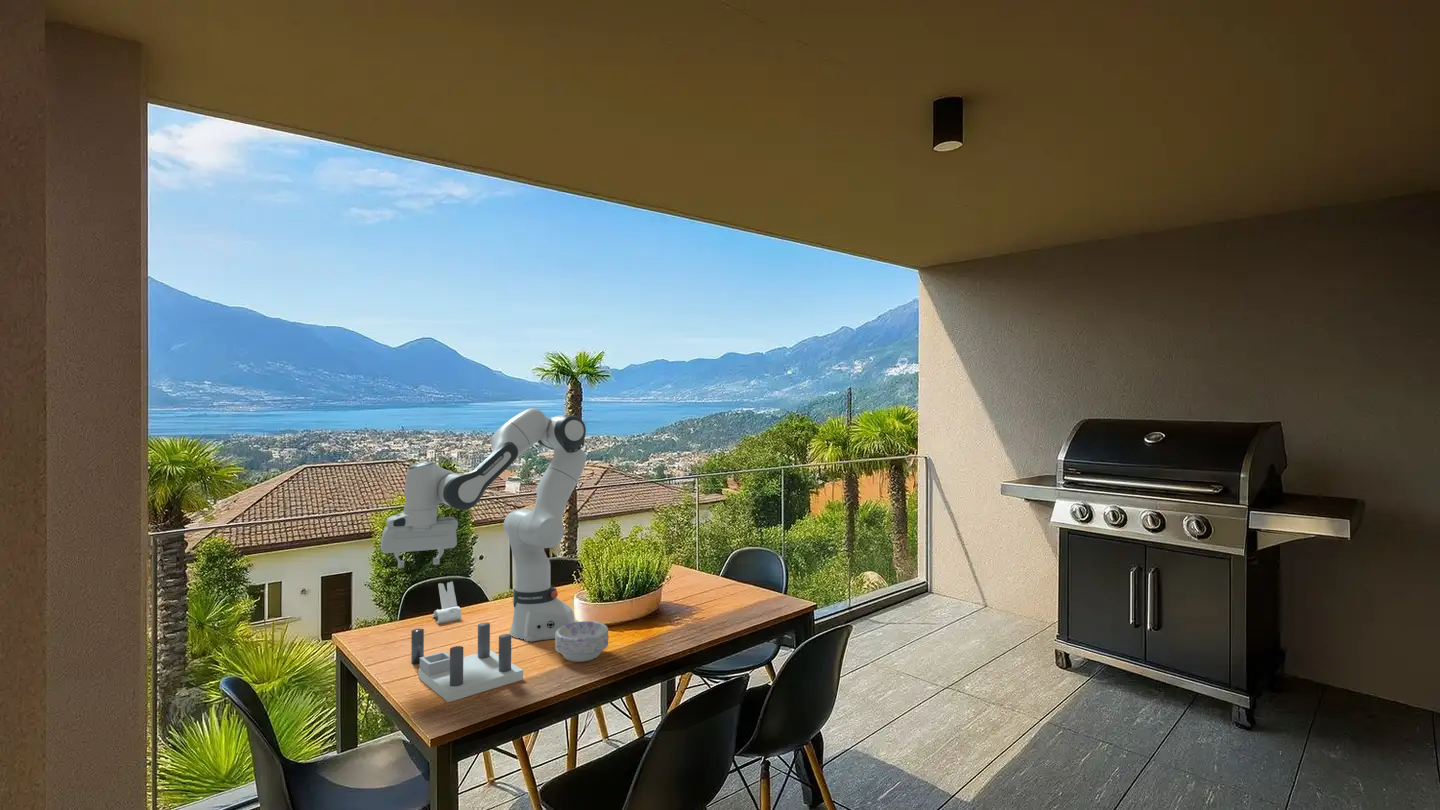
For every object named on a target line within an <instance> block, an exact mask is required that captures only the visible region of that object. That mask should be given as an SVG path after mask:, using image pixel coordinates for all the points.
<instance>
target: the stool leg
mask: <svg viewBox="0 0 1440 810" xmlns="http://www.w3.org/2000/svg"><path fill="white" fill-rule="evenodd" d="M424 632H425V629H424V628H415V629H412V630H411V637H410V638H411V639H410V640H411V645H410V647H411V652H410V653H411V660H410V661H411V662H410V663H411V665H412V664H413V665H420V657H424V655H425V653H424V652H425V649H424V648H425V647H424V646H425V644H424V643H425V639H424V638H425V635H424V634H425V633H424Z"/></svg>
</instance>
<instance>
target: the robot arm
mask: <svg viewBox="0 0 1440 810" xmlns="http://www.w3.org/2000/svg"><path fill="white" fill-rule="evenodd" d="M586 435H587V428H586V424H585V422H584V421H583V419H581V418H580V417H578V416H576V415H573V414H561V415H555V416H550V417H547V416H546V414H545V413H544V412H543V411H542V410H541V409H538V408H535V407H530V408H527V409H525V410H523V411H521V412H519V413H518V414H516V415H515V416H513V417H511V418H510V419H509V420H507V421H506V422H505V423H503V424H502V425H501V426H500V427H499V428H498V429H497V430H496V431H495V432H494V433H493V434H492V436H491V440H490V446H491V448H492V451H491V453H490V454H489V456H487V457H486V458H485V459H484V460H483V461H481V462H480V463H479V464H478V465H477V466H476V467H475V468H474V469H473V470H472V471H470V472H469V471H468V472H466V473H463V474H462V473H458V472H454V471H452V470H448V469H445V468H443V467H442V466H440V465H438V464H437V463H435V462H434V461H426V462H425V461H422V462H418V463H414V464H412V465H410V466H409V467H408V469H407V470H406V475H405V481H404V482H405V483H404V496H405V497H404V498H405V504H404V506H403V512H400V513H398V514H397V513H396V514H394V515H392V516H388V517H387V518H386V522H385V524H386V527H385V528H384V529H383V531H382V535H381V539H380V551H381V552H382V553H383V554H393V556H394V557H395V560H397V567H398V569H402V568H405V560H401V559H400V558H399V557H400V556H401V553H407V552H408V553H409V552H421V551H430V550H431V551H432V550H433V551H434V550H437V552H438V554H437V556H436V557H433V558H432V559H433V561H432V563H433V565H434V566H436V565H437V566H438V565H440V562H441V561H440V559H441V558H442V557H443V555H444V553H445V549H446V550H447V549H455V547H457V545H458V539H457V538H458V536H457V530H458V527H459V521H458V520H457V518H455V517H453V516H438V505H440V504H445V505H447V506H450V507H451V508H454V509H455V510H458V511H465V510H469V509H472V508H474V507H475V506H476V505H477V504H478V503H479V502H480V500H481V499H482V497H483V495H484V493H485V492H486V489H487V488H489V486H490V485H491V484H492V483H493V482H494V481H495V480H496V479H497V478H498V477H499V476H500V475H502V474H503V472H505V470H507V469H508V468H509V467H510V466H511V465H512V464H513V463H514V462H515V461H516V460H517V459H518V458H519V457H520V456H522V455H523V454H524V453H525V452H527V451H528V450H529V449H530V448H532V446H534V445H535V444H536V443H538V444H540V445H541V446H543V447H545V448H547V449H553V456H552V460H551V462H550V463H549V464H548V466H547V468H546V470H545V471H544V473H543V475H542V477H541V478H540V480H539V482H538V483H537V485H536V487H535V488H536V489H535V493H536V498H535V499H536V500H535V505H534V507H533V509H528V508H521V509H516V510H513V511H511V512H509V513H508V514H507V515H506V517H505V519H504V521H503V531H504V533H505V535H506V536H507V538H508V541H509V545H510V549H511V554H512V557H513V562H514V589H513V592H512V604H513V607H514V609H513V617H512V622H511V626H510V631H509V634H510V635H511V637H512V636H513V638H515V639H519V638H520V640H523V639H524V641H525V642H528V641H530V642H538V641H545V640H552V639H554V640H555V632H556V630H557V629H558V628H560V627H561V626H563V625H566V624H569V623H574V622H578V621H579V620H577V619H575V614H574V612H573V608H571V606H569V604H567V603H565V602H564V601H562V600H561V599H559V598H558V591H557V590H558V589H557V588H556V586H552V585H551V561H550V559H549V558H548V556H547V554H546V551H545V549H548V548H549V549H550V548H554V547H556V546H557V545H558V544H560V543H561V541H562V540H563V538H564V535H565V529H564V524H563V518H564V514H565V509H566V506H567V503H568V501H569V500H570V497H571V495H572V494H573V491H574V489H575V488H576V486H577V484H578V482H579V480H580V478H581V476H582V474H583V470H584V468H585V465H586V462H587V455H586V453H585V452H584V451H583V449H582V448H583V447H584V446H585V438H586Z"/></svg>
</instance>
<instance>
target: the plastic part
mask: <svg viewBox="0 0 1440 810" xmlns="http://www.w3.org/2000/svg"><path fill="white" fill-rule="evenodd" d="M437 585H438V592H439V598H440V606H441V609H438V608H437V609H436V610H434V611H433V615H432V616H430V617H429V618H431V619H433V618H434V617H435V618H437V621H435V624H437V625H440V623H441V624H444V623H445V622H446V623H450V621H451V622H454V621H455V620H456V621H460V620H461V619H462V610H461V607H460V606H458V602H457V598H456V592H455V586H454V581H450V582H447V583H446V586H445V584H444V583H441V582H440V583H438V584H437ZM446 589H447V590H446ZM435 618H434V619H435Z"/></svg>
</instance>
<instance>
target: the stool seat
mask: <svg viewBox="0 0 1440 810" xmlns="http://www.w3.org/2000/svg"><path fill="white" fill-rule="evenodd" d="M490 648H491V624H490V622H480V623H478V624H477V652H476V653H473V654H470V655H466V656H465V655H464V647H463V646H462V645H456V646H452V647H450V648H449V653H448V652H446V651H440V652H437V653H433V654H429V655H425V656H424V657H420V664H419V668H418V679H419V680H420V681H422V683H424V684H425V685H426V686H428V688H430V689H431V690H432V691H433V692H434V693H436V694H437V695H439V697H441V698H442V699H443V700H445V701H446V702H447V703H451V702H454V701H458V700H460V699H463V698H466V697H470V696H474V695H476V694H480V693H484V692H486V691H489V690H494V689H496V688H500V687H504V686H506V685H509V684H512V683H516V682H520V681H523V680H524V669H523V668H521V667H519V666H518V665H516V664H514V663H512V636H511V635H510V633H503V634H500V635H499V636H498V653H496V652H494V651H493V650H492V649H490Z"/></svg>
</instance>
